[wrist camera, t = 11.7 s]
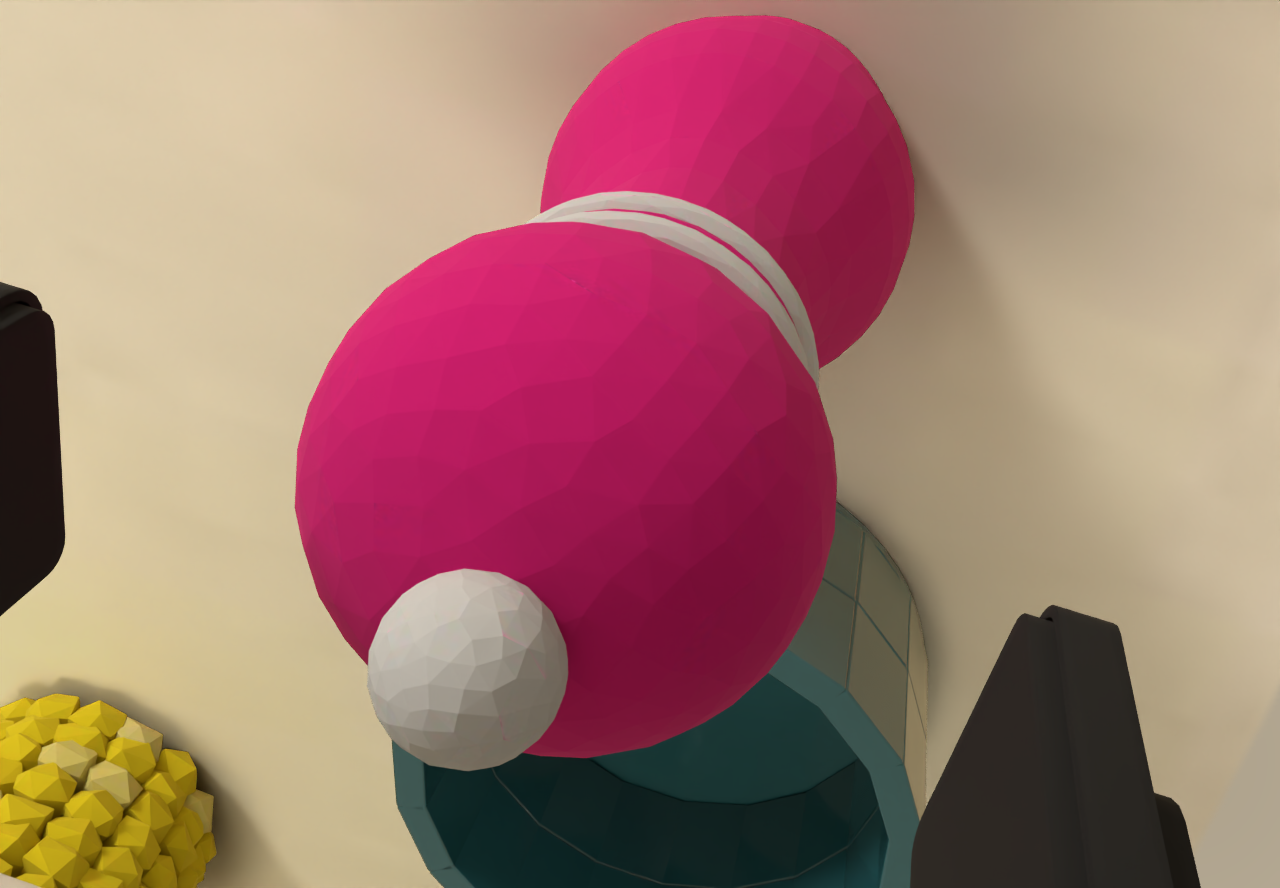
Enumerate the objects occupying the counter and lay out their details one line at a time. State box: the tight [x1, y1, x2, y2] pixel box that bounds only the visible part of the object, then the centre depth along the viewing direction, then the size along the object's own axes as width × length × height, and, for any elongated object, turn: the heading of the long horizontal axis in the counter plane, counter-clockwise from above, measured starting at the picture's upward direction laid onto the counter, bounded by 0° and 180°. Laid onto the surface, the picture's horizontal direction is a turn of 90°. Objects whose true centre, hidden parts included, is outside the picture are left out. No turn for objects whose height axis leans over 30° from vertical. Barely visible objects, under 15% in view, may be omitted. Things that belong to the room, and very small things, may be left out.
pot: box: [392, 502, 928, 888], centre depth 31 cm, size 13×13×7 cm
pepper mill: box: [295, 15, 914, 771], centre depth 18 cm, size 7×7×20 cm
